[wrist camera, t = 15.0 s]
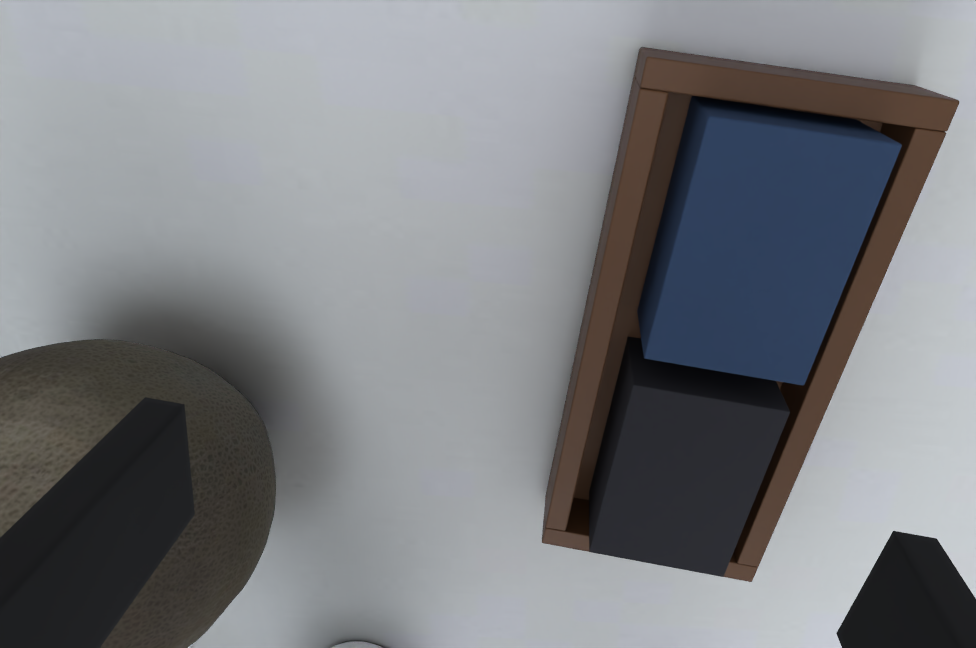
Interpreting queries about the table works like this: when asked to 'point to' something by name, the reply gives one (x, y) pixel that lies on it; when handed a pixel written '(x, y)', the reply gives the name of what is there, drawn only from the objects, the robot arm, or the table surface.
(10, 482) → the cantaloupe
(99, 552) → the robot arm
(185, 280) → the table surface
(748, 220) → the pad
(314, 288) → the table surface
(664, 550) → the pad
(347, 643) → the cup
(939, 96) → the wooden tray
